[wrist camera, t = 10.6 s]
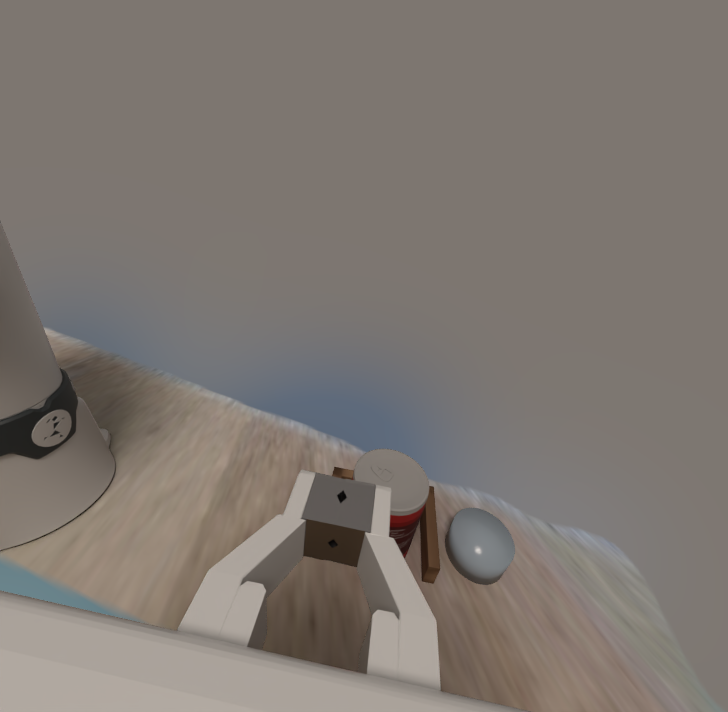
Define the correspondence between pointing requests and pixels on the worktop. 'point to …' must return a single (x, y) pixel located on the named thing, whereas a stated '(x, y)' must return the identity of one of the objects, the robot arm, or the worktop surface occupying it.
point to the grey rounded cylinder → (479, 546)
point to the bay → (427, 532)
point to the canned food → (397, 489)
